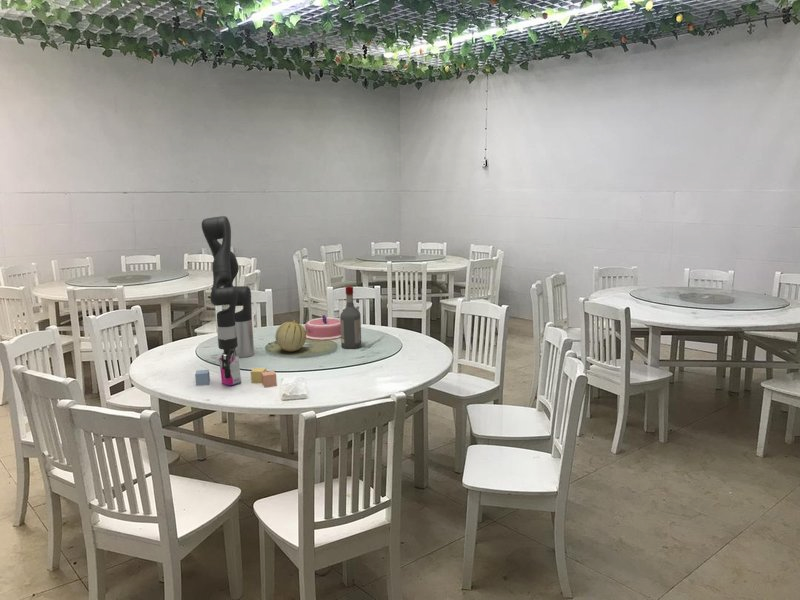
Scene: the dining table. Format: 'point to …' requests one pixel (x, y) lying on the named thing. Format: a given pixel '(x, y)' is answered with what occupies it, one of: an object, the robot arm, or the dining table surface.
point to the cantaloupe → (290, 336)
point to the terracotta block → (269, 379)
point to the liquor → (350, 323)
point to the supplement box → (234, 370)
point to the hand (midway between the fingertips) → (230, 374)
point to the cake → (323, 328)
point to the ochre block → (257, 375)
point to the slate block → (202, 377)
